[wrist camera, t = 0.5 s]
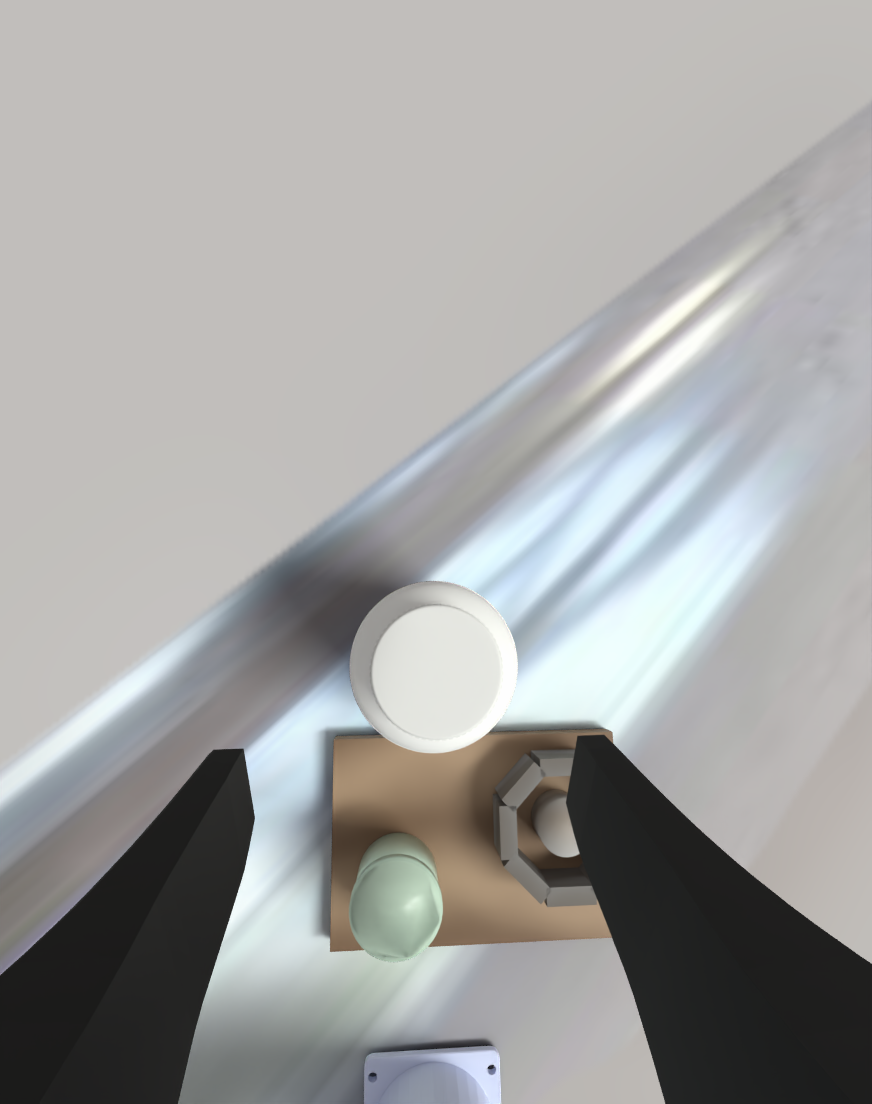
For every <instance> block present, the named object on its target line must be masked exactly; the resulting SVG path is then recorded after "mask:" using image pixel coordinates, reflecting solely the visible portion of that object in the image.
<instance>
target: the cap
mask: <svg viewBox="0 0 872 1104" xmlns="http://www.w3.org/2000/svg"><path fill="white" fill-rule="evenodd" d="M442 915H443V902H442V894H441V889H440V886H439V883H438V877H437V869H436V863H435V860H434V857H433V855H432V853H431V851H430V850H429V848H428V847H427V846H426V844H425V843H423V842H422V841H421V840H420V839H418V838H417V837H415V836H413V835H410V834H406V833H391V834H387V835H385V836H382V837H381V838H379V839H377V840H376V841H375V842H373V843H372V844H371V845H370V846H369V848H368V849H367V850H366V852H365V853H364V855H363V857H362V859H361V862H360V865H359V870H358V874H357V879H356V882H355V885H354V887H353V890H352V894H351V898H350V903H349V921H350V926H351V929H352V932H353V935H354V937H355V939H356V940H357V942H358V943H359V945H360V946H361V947H362V948H363V949H364V950H365V951H366V952H367V953H368V954H370V955H371V956H373V957H375V958H377V959H379V960H382V961H387V962H401V961H405V960H409V959H411V958H414V957H415V956H417V955H419V954H420V953H422V952H423V951H424V950H425V949H426V948H427V947H428V946H429V945H430V944H431V942H432V941H433V940H434V938H435V936H436V934H437V932H438V930H439V928H440V924H441V921H442Z"/></svg>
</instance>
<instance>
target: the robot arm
mask: <svg viewBox="0 0 872 1104" xmlns="http://www.w3.org/2000/svg"><path fill="white" fill-rule="evenodd" d="M566 806H567V809H568V813H569V817H570V821H571V825H572V829H573V833H574V836H575V840H576V843H577V847H578V850H579V853H580V856H581V859H582V861H583V864H584V867H585V869H586V872H587V874H588V877H589V880H590V882H591V885H592V887H593V890H594V893H595V895H596V898H597V900H598V903H599V905H600V908H601V911H602V913H603V916H604V918H605V921H606V923H607V926H608V928H609V931H610V934H611V936H612V939H613V941H614V944H615V946H616V949H617V951H618V954H619V957H620V959H621V962H622V964H623V967H624V970H625V972H626V975H627V978H628V981H629V984H630V987H631V989H632V992H633V995H634V998H635V1002H636V1005H637V1008H638V1011H639V1015H640V1018H641V1021H642V1025H643V1028H644V1031H645V1034H646V1038H647V1041H648V1045H649V1048H650V1051H651V1054H652V1058H653V1061H654V1065H655V1068H656V1072H657V1075H658V1079H659V1082H660V1086H661V1089H662V1093H663V1096H664V1100H665V1104H872V964H871V963H870V962H868V961H867V960H865V959H864V958H862V957H860V956H859V955H858V954H856V953H855V952H853V951H852V950H851V949H849V948H848V947H847V946H845V945H844V944H842V943H841V942H840V941H838V940H837V939H835V938H834V937H832V936H831V935H830V934H828V933H827V932H825V931H824V930H823V929H821V928H820V927H818V926H817V925H815V924H814V923H813V922H812V921H810V920H809V919H808V918H806V917H805V916H804V915H802V914H801V913H799V912H798V911H797V910H795V909H794V908H793V907H791V906H790V905H789V904H787V903H786V902H785V901H784V900H782V899H781V898H780V897H779V896H778V895H776V894H775V893H774V892H772V891H771V890H770V889H768V888H767V887H766V886H765V885H764V884H762V883H761V882H760V881H759V880H757V879H756V878H755V877H754V876H752V875H751V874H750V873H749V872H748V871H746V870H745V869H744V868H743V867H742V866H740V865H739V864H738V863H737V862H736V861H734V860H733V859H732V858H731V857H730V856H729V855H728V854H726V853H725V852H724V851H723V850H722V849H721V848H720V847H719V846H717V845H716V844H715V843H714V842H713V841H712V840H711V839H710V838H708V837H707V836H706V835H705V834H704V833H703V832H702V831H701V830H700V829H698V828H697V827H696V826H695V825H694V824H693V823H692V822H691V821H690V820H689V819H688V818H687V817H686V816H685V815H684V814H683V813H682V812H681V811H680V810H679V809H677V808H676V807H675V806H674V805H673V804H672V803H671V802H670V801H669V800H668V799H667V798H666V797H665V796H664V795H663V794H662V793H661V792H660V791H659V790H658V789H657V788H656V787H655V786H654V785H653V784H652V783H651V782H650V781H649V780H648V779H647V778H646V777H645V776H644V775H643V774H642V773H641V772H640V771H639V770H638V769H637V768H636V767H635V766H634V765H633V764H632V762H631V761H630V760H629V759H628V758H627V757H626V756H625V755H624V754H623V753H622V752H621V751H620V750H619V749H618V748H617V747H616V746H615V745H614V744H613V743H612V742H611V741H610V740H609V739H608V738H607V737H606V736H605V735H581V736H577V741H576V747H575V753H574V758H573V764H572V770H571V776H570V781H569V787H568V793H567V798H566ZM254 820H255V816H254V810H253V804H252V798H251V791H250V785H249V779H248V773H247V767H246V761H245V755H244V749H222V750H213V751H212V752H211V753H210V754H209V755H208V756H207V757H206V758H205V760H204V761H203V762H202V763H201V765H200V766H199V767H198V768H197V769H196V771H195V772H194V773H193V774H192V776H191V777H190V778H189V779H188V781H187V782H186V783H185V784H184V785H183V787H182V788H181V789H180V790H179V791H178V793H177V794H176V795H175V796H174V797H173V799H172V800H171V801H170V802H169V803H168V805H167V806H166V807H165V808H164V809H163V811H162V812H161V813H160V814H159V815H158V816H157V817H156V819H155V820H154V821H153V822H152V823H151V824H150V825H149V827H148V828H147V829H146V830H145V831H144V832H143V833H142V835H141V836H140V837H139V838H138V839H137V840H136V841H135V843H134V844H133V845H132V846H131V847H130V848H129V849H128V850H127V851H126V852H125V854H124V855H123V856H122V857H121V858H120V859H119V860H118V861H117V862H116V863H115V864H114V865H113V866H112V867H111V868H110V869H109V871H108V872H107V873H106V874H105V875H104V876H103V877H102V878H101V879H100V880H99V881H98V882H97V883H96V884H95V885H94V886H93V887H92V889H91V890H90V891H89V892H88V893H87V894H86V895H85V896H84V897H83V898H82V899H81V900H80V901H79V902H78V903H77V904H76V905H75V906H74V907H73V908H72V909H71V910H70V911H69V912H68V913H67V914H66V915H65V916H64V917H63V918H62V919H61V920H60V921H58V922H57V923H56V924H55V925H54V926H53V927H52V928H51V929H50V930H49V931H48V932H47V933H46V934H45V935H44V936H43V937H42V938H41V939H40V940H38V941H37V942H36V943H35V944H34V945H33V946H32V947H31V948H30V949H29V950H28V951H27V952H26V953H25V954H24V955H22V956H21V957H20V958H19V959H18V960H17V961H16V962H15V963H13V964H12V965H11V966H10V967H9V968H8V969H7V970H6V971H4V972H3V973H2V974H1V975H0V1104H178V1100H179V1096H180V1092H181V1088H182V1083H183V1079H184V1075H185V1070H186V1066H187V1062H188V1058H189V1053H190V1049H191V1045H192V1041H193V1036H194V1032H195V1029H196V1025H197V1021H198V1018H199V1014H200V1011H201V1007H202V1004H203V1000H204V997H205V994H206V991H207V988H208V984H209V981H210V978H211V975H212V972H213V969H214V966H215V962H216V959H217V956H218V953H219V950H220V947H221V944H222V940H223V937H224V934H225V931H226V928H227V925H228V922H229V918H230V915H231V912H232V909H233V906H234V902H235V899H236V896H237V893H238V890H239V886H240V883H241V880H242V877H243V873H244V870H245V865H246V860H247V855H248V851H249V846H250V841H251V836H252V831H253V825H254ZM489 1065H494V1066H495V1067H494V1068H493V1069H488V1066H489ZM372 1072H374V1073H376V1074H377V1075H376V1076H375V1077H371V1076H370V1075H369V1074H370V1073H372ZM364 1104H501V1086H500V1058H499V1054H498V1050H497V1049H496V1048H495V1047H494V1046H477V1047H461V1048H445V1049H429V1050H413V1051H396V1052H380V1053H371V1054H369V1055H368V1056H367V1057H366V1059H365V1064H364Z"/></svg>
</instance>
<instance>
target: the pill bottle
mask: <svg viewBox="0 0 872 1104" xmlns="http://www.w3.org/2000/svg"><path fill="white" fill-rule="evenodd" d="M517 672H518V661H517V653H516V647H515V643H514V640H513V637H512V634H511V632H510V630H509V628H508V626H507V624H506V622H505V621H504V619H503V618H502V616H501V615H500V613H499V612H498V611H497V610H496V609H495V608H494V607H493V605H491V604H490V603H489V602H488V601H487V600H486V599H485V598H483V597H482V596H480V595H479V594H477V593H476V592H474V591H472V590H470V589H468V588H466V587H463V586H461V585H457V584H454V583H449V582H442V581H425V582H419V583H414V584H410V585H407V586H404V587H402V588H400V589H398V590H396V591H394V592H392V593H390V594H389V595H387V596H386V597H384V598H383V599H382V600H381V601H379V602H378V603H377V604H376V605H375V606H374V607H373V608H372V609H371V610H370V612H369V613H368V614H367V616H366V617H365V618H364V620H363V621H362V623H361V625H360V627H359V629H358V631H357V633H356V636H355V638H354V641H353V645H352V649H351V654H350V681H351V686H352V690H353V694H354V697H355V699H356V702H357V704H358V706H359V708H360V710H361V712H362V713H363V715H364V717H365V718H366V719H367V721H368V722H369V723H370V724H371V725H372V727H373V728H374V729H375V730H376V731H377V732H379V733H380V734H381V735H382V736H383V737H385V738H386V739H388V740H389V741H391V742H393V743H394V744H396V745H398V746H401V747H403V748H406V749H409V750H412V751H416V752H422V753H445V752H450V751H455V750H458V749H461V748H464V747H466V746H468V745H470V744H472V743H474V742H476V741H477V740H479V739H480V738H482V737H483V736H485V735H486V734H487V733H488V732H489V731H490V730H491V729H492V728H493V727H494V726H495V725H496V724H497V723H498V722H499V720H500V719H501V718H502V716H503V715H504V713H505V712H506V710H507V708H508V706H509V704H510V702H511V699H512V697H513V694H514V690H515V686H516V681H517Z"/></svg>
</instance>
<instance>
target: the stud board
mask: <svg viewBox="0 0 872 1104" xmlns="http://www.w3.org/2000/svg"><path fill="white" fill-rule="evenodd" d="M581 735H605V736H606V737H607V738H608V739H609V740H610V741H611V742H612V743H613V735H612V732H611V731H609V730H607V729H574V730H538V731H501V732H488V733H487V734H486V735H485V736H483V737H482V738H480V739H479V740H477V741H476V742H474V743H472V744H470V745H468V746H466V747H464V748H461V749H458V750H455V751H450V752H445V753H422V752H416V751H412V750H409V749H406V748H403V747H401V746H398V745H396V744H394V743H393V742H391V741H389V740H388V739H386V738H385V737H383V736H382V735H353V736H336V737H335V738H334V751H333V811H332V870H331V929H330V952H335V951H355V950H364V949H363V948H362V947H361V946H360V945H359V943H358V942H357V940H356V939H355V937H354V935H353V932H352V929H351V926H350V921H349V903H350V898H351V894H352V890H353V887H354V885H355V882H356V879H357V874H358V870H359V865H360V862H361V859H362V857H363V855H364V853H365V852H366V850H367V849H368V848H369V846H370V845H371V844H372V843H373V842H375V841H376V840H377V839H379V838H381V837H382V836H385V835H387V834H391V833H406V834H410V835H413V836H415V837H417V838H418V839H420V840H421V841H422V842H423V843H425V844H426V846H427V847H428V848H429V850H430V851H431V853H432V855H433V857H434V860H435V863H436V869H437V877H438V883H439V886H440V889H441V894H442V902H443V915H442V921H441V924H440V928H439V930H438V932H437V934H436V936H435V938H434V940H433V941H432V942H431V944H430V945H429V946H428V947H434V946H454V945H474V944H493V943H513V942H533V941H552V940H572V939H592V938H612V936H611V934H610V931H609V928H608V926H607V923H606V921H605V918H604V916H603V913H602V911H601V908H600V905H599V903H598V900H597V898H596V895H595V893H594V890H593V887H592V885H591V882H590V880H589V877H588V874H587V872H586V869H585V867H584V864H583V861H582V859H581V856H580V853H579V850H578V847H577V843H576V840H575V836H574V833H573V829H572V825H571V821H570V817H569V813H568V809H567V806H566V798H567V793H568V787H569V781H570V776H571V770H572V764H573V758H574V753H575V747H576V741H577V736H581Z"/></svg>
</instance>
